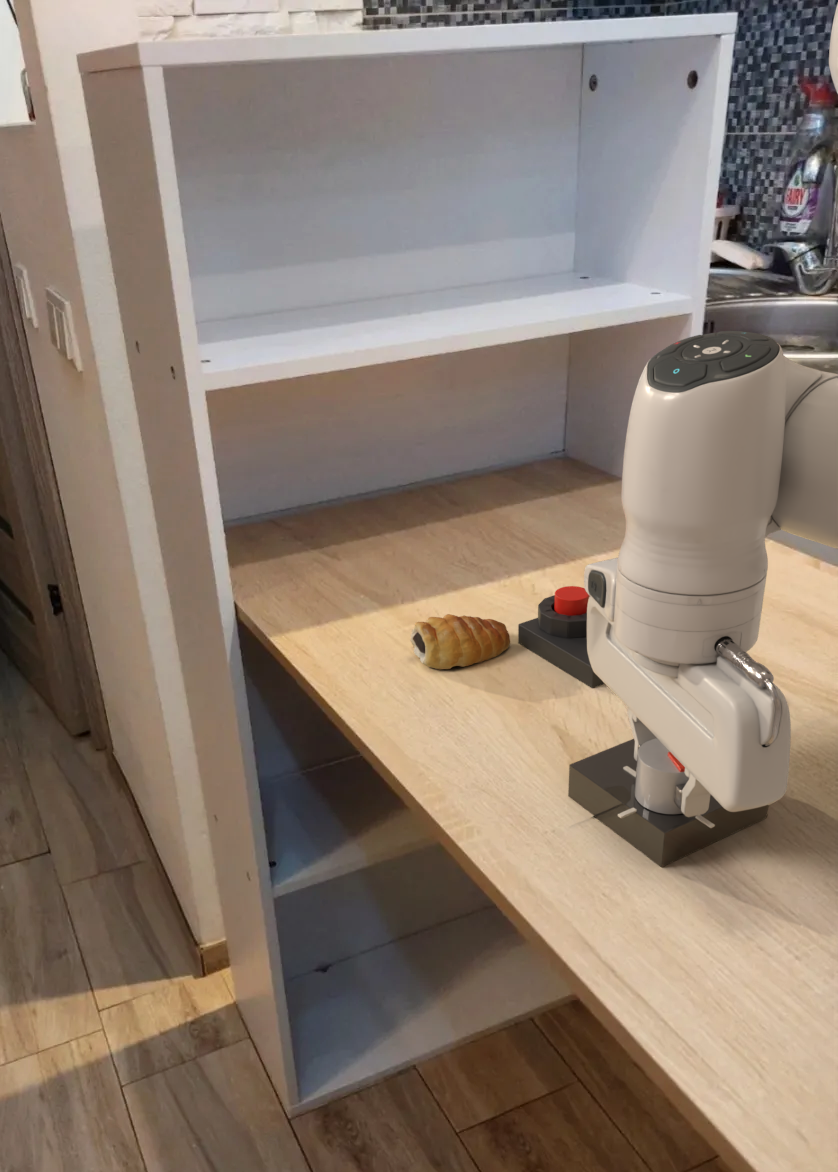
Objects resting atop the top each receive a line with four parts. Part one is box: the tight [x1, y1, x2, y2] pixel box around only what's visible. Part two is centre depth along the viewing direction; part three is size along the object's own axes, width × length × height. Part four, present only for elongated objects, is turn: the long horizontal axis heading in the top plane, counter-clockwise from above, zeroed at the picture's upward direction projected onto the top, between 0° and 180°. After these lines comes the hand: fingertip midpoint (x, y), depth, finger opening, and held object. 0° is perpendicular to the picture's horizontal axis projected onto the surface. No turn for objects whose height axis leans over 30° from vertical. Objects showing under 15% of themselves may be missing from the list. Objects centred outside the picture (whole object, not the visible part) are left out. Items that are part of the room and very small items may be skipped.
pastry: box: [409, 613, 511, 671], centre depth 99 cm, size 9×7×4 cm
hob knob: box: [635, 739, 689, 814], centre depth 71 cm, size 4×4×4 cm
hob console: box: [567, 738, 770, 868], centre depth 75 cm, size 11×11×3 cm
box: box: [517, 594, 606, 689], centre depth 96 cm, size 8×11×4 cm
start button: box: [554, 585, 589, 616], centre depth 97 cm, size 3×3×2 cm
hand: (669, 786), depth 72 cm, fingers closed on hob knob, 4 cm apart
